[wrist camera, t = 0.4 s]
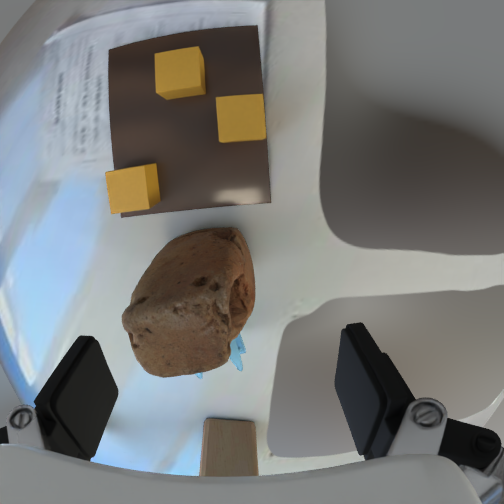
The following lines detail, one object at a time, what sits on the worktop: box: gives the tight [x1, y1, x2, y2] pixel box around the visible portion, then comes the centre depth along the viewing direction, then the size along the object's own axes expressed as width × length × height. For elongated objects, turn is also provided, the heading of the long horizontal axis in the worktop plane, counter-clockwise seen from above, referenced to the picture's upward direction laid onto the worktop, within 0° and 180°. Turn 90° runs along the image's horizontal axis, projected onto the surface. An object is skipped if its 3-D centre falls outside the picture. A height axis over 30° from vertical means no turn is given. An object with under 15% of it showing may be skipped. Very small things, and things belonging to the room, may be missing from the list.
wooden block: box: [199, 418, 259, 477], centre depth 43 cm, size 10×10×20 cm
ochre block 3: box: [216, 94, 266, 143], centre depth 31 cm, size 5×5×5 cm
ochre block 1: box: [105, 163, 161, 214], centre depth 33 cm, size 5×5×5 cm
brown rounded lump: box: [122, 227, 255, 378], centre depth 30 cm, size 11×8×20 cm
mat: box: [108, 25, 271, 218], centre depth 33 cm, size 24×20×1 cm
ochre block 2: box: [155, 46, 206, 100], centre depth 29 cm, size 5×5×5 cm
